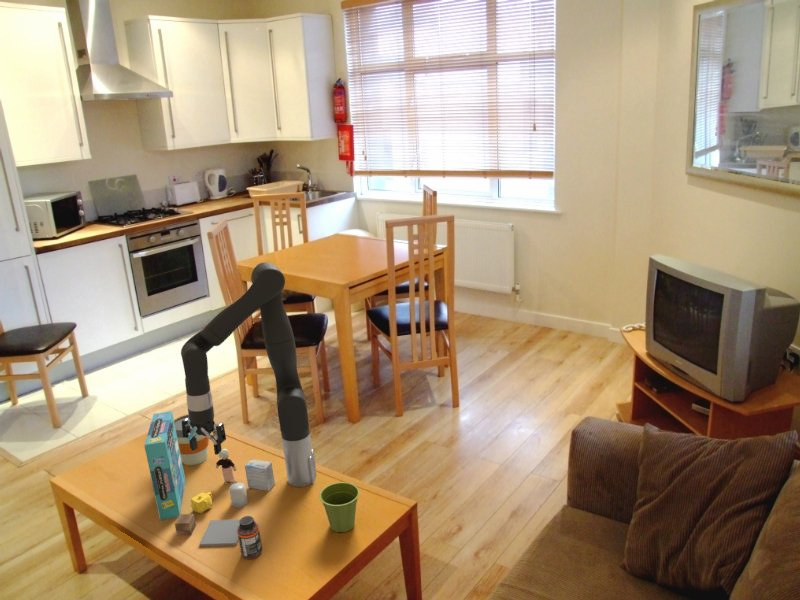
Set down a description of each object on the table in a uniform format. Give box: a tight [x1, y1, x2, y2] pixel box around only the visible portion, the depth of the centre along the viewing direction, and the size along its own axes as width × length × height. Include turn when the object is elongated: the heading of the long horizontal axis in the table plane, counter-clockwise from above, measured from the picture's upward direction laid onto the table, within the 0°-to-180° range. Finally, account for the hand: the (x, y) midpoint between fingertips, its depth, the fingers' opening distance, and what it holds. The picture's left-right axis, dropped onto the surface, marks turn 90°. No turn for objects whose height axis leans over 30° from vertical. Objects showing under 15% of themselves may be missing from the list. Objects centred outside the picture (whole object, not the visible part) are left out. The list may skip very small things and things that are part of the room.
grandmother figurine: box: [215, 448, 238, 486], centre depth 224 cm, size 8×4×13 cm, turn 84°
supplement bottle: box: [237, 515, 263, 560], centre depth 189 cm, size 6×6×11 cm
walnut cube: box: [174, 513, 197, 537], centre depth 202 cm, size 4×4×4 cm
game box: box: [143, 411, 186, 521], centre depth 214 cm, size 20×6×27 cm, turn 12°
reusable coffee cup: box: [174, 413, 210, 466], centre depth 240 cm, size 12×13×15 cm
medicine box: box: [244, 459, 276, 492], centre depth 221 cm, size 8×4×9 cm, turn 71°
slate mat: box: [198, 518, 241, 547], centre depth 200 cm, size 11×11×1 cm
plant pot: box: [319, 481, 361, 533], centre depth 198 cm, size 12×12×11 cm
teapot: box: [189, 491, 213, 514], centre depth 211 cm, size 8×6×5 cm
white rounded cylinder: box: [228, 482, 249, 509], centre depth 213 cm, size 5×5×6 cm
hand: (206, 451), depth 209 cm, fingers open, 8 cm apart
